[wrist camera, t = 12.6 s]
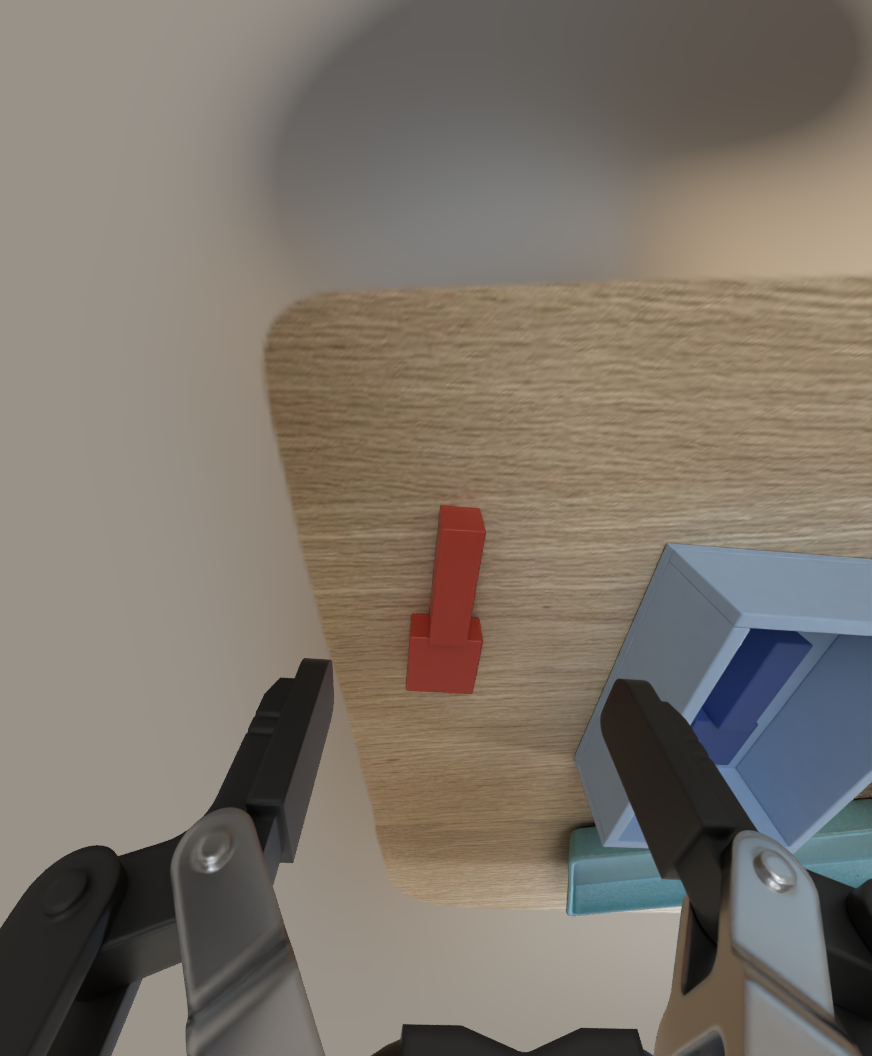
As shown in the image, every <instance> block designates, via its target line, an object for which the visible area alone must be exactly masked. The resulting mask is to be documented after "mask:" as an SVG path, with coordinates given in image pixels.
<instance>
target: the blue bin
mask: <svg viewBox="0 0 872 1056" xmlns="http://www.w3.org/2000/svg"><path fill="white" fill-rule="evenodd" d="M749 628H757V629H772V630H787V631H797V632H798V633H799V634H800V635H802V636H803V637H804V638H805V639H806V640H808V641H809V642H810V643H811V644H812V645H813V647H812V648H811V650H810V651H809V652H808V654H807V655H806V656H805V658H804V659H803V660H802V662H801V663H800V664H799V666H798V667H797V668H796V670H795V671H794V672H793V674H792V675H791V676H790V678H789V679H788V680H787V682H786V683H785V684H784V686H783V687H782V688H781V690H780V691H779V692H778V694H777V695H776V696H775V698H774V699H773V700H772V702H771V703H770V704H769V706H768V707H767V709H766V710H765V711H764V713H763V714H762V715H761V717H760V718H759V719H758V721H757V724H758V726H757V728H756V729H755V730H754V732H753V733H752V734H751V736H750V737H749V738H748V740H747V741H746V742H745V744H744V745H743V746H742V748H741V749H740V750H739V752H738V753H737V754H736V756H735V757H734V758H733V760H732V761H731V762H730V764H729V765H716V767H717V768H718V770H719V771H720V773H721V775H722V776H723V778H724V779H725V781H726V782H727V784H728V785H729V787H730V789H731V790H732V792H733V793H734V795H735V796H736V798H737V799H738V801H739V803H740V804H741V806H742V807H743V809H744V810H745V812H746V813H747V815H748V817H749V818H750V820H751V821H752V823H753V824H754V826H755V827H756V828H757V830H758V831H759V832H760V833H762V834H764V835H767V836H768V837H770V838H772V839H774V840H775V841H777V842H778V843H780V844H781V845H782V846H784V847H785V848H786V849H787V850H788V851H789V852H791V853H795V852H796V851H797V850H798V849H799V848H800V847H801V846H802V845H803V844H804V843H806V842H807V841H808V840H809V839H810V838H811V837H812V836H813V835H814V834H815V833H816V832H818V831H819V830H820V829H821V828H822V827H823V826H824V825H825V824H826V823H827V822H829V821H830V820H831V819H832V818H833V817H834V816H835V815H836V814H837V813H838V812H839V811H841V810H842V809H843V808H844V807H845V806H846V805H847V804H848V803H849V802H850V801H851V800H853V799H854V798H855V797H856V796H857V795H858V794H859V793H860V792H861V791H862V790H863V789H865V788H866V787H867V786H868V785H869V784H870V783H871V782H872V559H865V558H852V557H839V556H826V555H814V554H801V553H788V552H775V551H762V550H749V549H736V548H723V547H710V546H697V545H684V544H672V543H667V545H666V547H665V549H664V552H663V554H662V556H661V559H660V561H659V563H658V566H657V568H656V570H655V572H654V575H653V577H652V579H651V582H650V584H649V586H648V589H647V591H646V593H645V595H644V598H643V600H642V602H641V605H640V607H639V609H638V612H637V614H636V616H635V619H634V621H633V623H632V625H631V628H630V630H629V632H628V635H627V637H626V639H625V642H624V644H623V646H622V648H621V651H620V653H619V655H618V658H617V660H616V662H615V665H614V667H613V669H612V672H611V674H610V676H609V678H608V681H607V683H606V685H605V688H604V690H603V692H602V695H601V697H600V699H599V702H598V704H597V706H596V708H595V711H594V713H593V715H592V718H591V720H590V722H589V725H588V727H587V729H586V731H585V734H584V736H583V738H582V741H581V743H580V745H579V748H578V750H577V752H576V755H575V757H574V760H575V763H576V766H577V769H578V772H579V775H580V778H581V781H582V784H583V788H584V791H585V794H586V797H587V800H588V803H589V806H590V809H591V812H592V815H593V818H594V821H595V824H596V827H597V830H598V834H599V837H600V840H601V843H602V846H603V847H626V848H648V845H647V843H646V840H645V838H644V836H643V833H642V831H641V828H640V826H639V823H638V821H637V819H636V816H635V814H634V811H633V809H632V806H631V804H630V802H629V799H628V797H627V794H626V792H625V789H624V787H623V785H622V782H621V780H620V777H619V775H618V772H617V770H616V768H615V765H614V763H613V760H612V758H611V756H610V753H609V751H608V748H607V746H606V743H605V741H604V739H603V736H602V732H601V727H600V716H601V712H602V710H603V707H604V705H605V703H606V701H607V698H608V696H609V694H610V691H611V689H612V687H613V684H614V682H615V681H616V680H617V679H635V680H646V681H648V682H649V683H650V684H651V685H652V687H653V688H654V690H655V692H656V693H657V695H658V697H659V698H660V700H661V701H665V702H668V703H670V704H671V705H672V706H673V707H674V708H675V709H676V710H677V711H678V712H679V713H680V714H681V715H682V716H683V717H684V718H685V719H686V720H687V722H688V723H689V725H690V724H691V723H692V721H693V720H694V718H695V716H696V715H697V713H698V712H699V710H700V709H701V707H702V705H703V704H704V702H705V701H706V699H707V697H708V696H709V694H710V693H711V691H712V689H713V688H714V686H715V685H716V683H717V681H718V680H719V678H720V677H721V675H722V673H723V672H724V670H725V669H726V667H727V666H728V664H729V662H730V661H731V659H732V658H733V656H734V654H735V653H736V651H737V650H738V648H739V646H740V645H741V643H742V642H743V640H744V638H745V637H746V635H747V634H748V632H749V631H750V629H749Z"/></svg>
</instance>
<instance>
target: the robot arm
mask: <svg viewBox="0 0 872 1056" xmlns="http://www.w3.org/2000/svg"><path fill="white" fill-rule="evenodd" d="M333 704H334V688H333V667H332V660H325V659H310V658H304V659H303V660H302V662H301V664H300V666H299V669H298V671H297V674H296V676H295V678H280V679H279V680H278V681H277V682H276V683H275V684H274V685H273V686H272V687H271V688H270V689H269V690H268V691H267V692H266V693H265V694H264V696H263V699H262V701H261V703H260V705H259V707H258V709H257V711H256V715H255V717H254V718H253V720H252V722H251V724H250V726H249V728H248V733H247V734H246V735H245V737H244V739H243V741H242V743H241V746H240V748H239V750H238V752H237V754H236V756H235V758H234V761H233V763H232V765H231V767H230V769H229V772H228V774H227V776H226V778H225V780H224V782H223V784H222V786H221V789H220V791H219V793H218V795H217V797H216V799H215V801H214V803H213V804H212V806H211V807H210V809H209V810H208V811H207V812H206V814H205V815H204V816H203V817H202V818H201V819H200V820H198V821H197V822H196V823H195V824H194V825H193V826H192V827H191V828H190V829H188V830H187V831H185V832H184V833H182V834H181V835H179V836H177V837H175V838H173V839H171V840H168V841H165V842H163V843H159V844H156V845H153V846H150V847H146V848H143V849H140V850H137V851H134V852H130V853H128V854H124V855H121V856H117V855H116V853H115V852H114V851H113V850H112V849H110V848H109V847H106V846H98V845H96V846H88V847H85V848H81V849H79V850H77V851H74V852H72V853H70V854H68V855H66V856H64V857H63V858H61V859H60V860H58V861H57V862H55V863H54V864H53V865H51V866H50V867H49V868H48V869H46V870H45V871H44V872H43V873H42V874H41V875H40V876H39V877H38V878H37V879H36V880H35V881H34V882H33V883H32V884H31V885H30V886H29V888H28V889H27V891H26V892H25V893H24V894H23V896H22V897H21V899H20V900H19V902H18V903H17V905H16V906H15V907H14V909H13V910H12V912H11V913H10V915H9V916H8V918H7V919H6V921H5V922H4V924H3V925H2V927H1V928H0V1056H111V1055H112V1052H113V1050H114V1047H115V1045H116V1043H117V1040H118V1038H119V1035H120V1033H121V1030H122V1028H123V1025H124V1023H125V1021H126V1018H127V1016H128V1013H129V1010H130V1008H131V1006H132V1003H133V1001H134V998H135V996H136V993H137V991H138V989H139V986H140V984H141V981H142V979H143V978H144V977H147V976H149V975H152V974H154V973H156V972H159V971H161V970H163V969H166V968H168V967H171V966H174V965H176V964H178V963H181V962H182V966H183V974H184V981H185V989H186V997H187V1006H188V1020H187V1023H186V1052H187V1056H325V1053H324V1050H323V1047H322V1043H321V1040H320V1037H319V1034H318V1030H317V1027H316V1024H315V1020H314V1017H313V1014H312V1010H311V1007H310V1004H309V1000H308V998H307V994H306V991H305V987H304V984H303V981H302V978H301V974H300V971H299V968H298V964H297V961H296V958H295V955H294V951H293V948H292V945H291V943H290V940H289V937H288V934H287V931H286V928H285V925H284V922H283V919H282V915H281V912H280V908H279V905H278V902H277V899H276V895H275V892H274V889H273V884H274V880H275V877H276V874H277V870H278V867H279V863H282V862H283V863H293V861H294V858H295V854H296V850H297V846H298V843H299V839H300V835H301V831H302V828H303V824H304V820H305V816H306V812H307V808H308V805H309V801H310V797H311V794H312V790H313V786H314V782H315V778H316V775H317V770H318V767H319V763H320V760H321V756H322V752H323V748H324V744H325V741H326V737H327V733H328V729H329V725H330V722H331V717H332V712H333ZM600 727H601V732H602V736H603V739H604V741H605V743H606V746H607V748H608V751H609V753H610V756H611V758H612V760H613V763H614V765H615V768H616V770H617V772H618V775H619V777H620V780H621V782H622V785H623V787H624V789H625V792H626V794H627V797H628V799H629V802H630V804H631V806H632V809H633V811H634V814H635V816H636V819H637V821H638V823H639V826H640V828H641V831H642V833H643V836H644V838H645V840H646V843H647V845H648V848H649V850H650V853H651V855H652V857H653V860H654V862H655V865H656V867H657V870H658V872H659V874H660V877H661V879H669V880H681V882H682V884H683V886H684V888H685V891H686V894H685V896H684V898H683V901H682V909H681V917H680V925H679V933H678V941H677V949H676V957H675V964H674V973H673V980H672V988H671V994H670V998H669V1002H668V1005H667V1008H666V1010H665V1012H664V1014H663V1017H662V1019H661V1022H660V1026H659V1029H658V1033H657V1037H656V1043H655V1049H654V1055H652V1054H650V1053H649V1052H647V1051H645V1050H643V1047H642V1044H641V1040H640V1037H639V1033H638V1030H637V1029H606V1028H604V1029H603V1028H600V1029H599V1028H580V1029H578V1030H575V1031H573V1032H571V1033H569V1034H567V1035H565V1036H563V1037H560V1038H558V1039H556V1040H554V1041H552V1042H550V1043H548V1044H545V1045H543V1046H541V1047H539V1048H537V1049H535V1050H532V1051H530V1052H520V1051H517V1050H515V1049H513V1048H511V1047H508V1046H506V1045H504V1044H502V1043H499V1042H497V1041H495V1040H493V1039H490V1038H488V1037H486V1036H484V1035H481V1034H479V1033H477V1032H475V1031H473V1030H470V1029H468V1028H466V1027H464V1026H459V1025H409V1024H407V1025H406V1024H403V1026H402V1032H401V1038H400V1040H397V1041H395V1042H393V1043H391V1044H388V1045H386V1046H385V1047H383V1048H382V1049H380V1050H379V1051H378V1052H376V1053H374V1054H373V1055H371V1056H872V879H869V880H867V881H865V882H864V883H863V884H861V885H860V886H859V887H858V888H854V887H851V886H849V885H846V884H844V883H841V882H838V881H836V880H833V879H831V878H828V877H826V876H823V875H820V874H818V873H815V872H813V871H810V870H808V869H806V868H804V867H803V865H802V864H801V863H800V862H799V861H798V860H797V858H796V857H795V856H794V855H793V854H792V853H791V852H789V851H788V850H787V849H786V848H785V847H784V846H782V845H781V844H780V843H778V842H777V841H775V840H774V839H772V838H770V837H768V836H767V835H764V834H762V833H760V832H759V831H758V830H757V828H756V827H755V826H754V824H753V823H752V821H751V820H750V818H749V817H748V815H747V813H746V812H745V810H744V809H743V807H742V806H741V804H740V803H739V801H738V799H737V798H736V796H735V795H734V793H733V792H732V790H731V789H730V787H729V785H728V784H727V782H726V781H725V779H724V778H723V776H722V775H721V773H720V771H719V770H718V768H717V767H716V765H715V764H714V762H713V761H712V759H709V754H708V753H707V751H706V750H705V748H704V747H703V745H702V744H701V743H699V741H698V737H697V736H696V734H695V733H694V731H693V730H692V728H691V726H690V725H689V723H688V722H687V720H686V719H685V718H684V717H683V716H682V715H681V714H680V713H679V712H678V711H677V710H676V709H675V708H674V707H673V706H672V705H671V704H670V703H668V702H665V701H661V700H660V698H659V697H658V695H657V693H656V692H655V690H654V688H653V687H652V685H651V684H650V683H649V682H648V681H646V680H635V679H617V680H616V681H615V682H614V684H613V687H612V689H611V691H610V694H609V696H608V698H607V701H606V703H605V705H604V707H603V710H602V712H601V716H600Z"/></svg>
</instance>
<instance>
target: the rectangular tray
mask: <svg viewBox="0 0 872 1056" xmlns="http://www.w3.org/2000/svg"><path fill="white" fill-rule="evenodd" d="M792 854H793V855H794V856H795V857H796V858H797V860H798V861H799V862H800V863H801V864H802V865H803V867H804V868H806V869H808V870H810V871H813V872H815V873H818V874H820V875H823V876H826V877H828V878H831V879H833V880H836V881H838V882H841V883H844V884H846V885H849V886H851V887H854V888H858V887H859V886H860V885H861V884H863V883H864V882H865V881H867V880H869V879H872V799H862V800H851V801H850V802H849V803H848V804H847V805H846V806H845V807H844V808H843V809H842V810H841V811H839V812H838V813H837V814H836V815H835V816H834V817H833V818H832V819H831V820H830V821H829V822H827V823H826V824H825V825H824V826H823V827H822V828H821V829H820V830H819V831H818V832H816V833H815V834H814V835H813V836H812V837H811V838H810V839H809V840H808V841H807V842H806V843H804V844H803V845H802V846H801V847H800V848H799V849H798V850H797V851H796V852H795V853H792ZM685 894H686V891H685V888H684V886H683V884H682V882H681V880H669V879H661V877H660V874H659V872H658V870H657V867H656V865H655V862H654V860H653V857H652V855H651V853H650V850H649V848H626V847H603V846H602V843H601V840H600V837H599V834H598V830H597V827H587V828H579V829H575V830H573V831H572V833H571V838H570V846H569V860H568V891H567V906H566V913H567V915H569V916H581V915H590V914H601V913H611V912H622V911H634V910H645V909H656V908H667V907H677V906H682V901H683V898H684V896H685Z"/></svg>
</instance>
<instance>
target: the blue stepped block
mask: <svg viewBox="0 0 872 1056" xmlns="http://www.w3.org/2000/svg"><path fill="white" fill-rule="evenodd" d="M749 629H750V631H749V632H748V634H747V635H746V637H745V638H744V640H743V642H742V643H741V645H740V646H739V648H738V650H737V651H736V653H735V654H734V656H733V658H732V659H731V661H730V662H729V664H728V666H727V667H726V669H725V670H724V672H723V673H722V675H721V677H720V678H719V680H718V681H717V683H716V685H715V686H714V688H713V689H712V691H711V693H710V694H709V696H708V697H707V699H706V701H705V702H704V704H703V705H702V707H701V709H700V710H699V712H698V713H697V715H696V716H695V718H694V720H693V721H692V723H691V724H690V726H691V728H692V730H693V731H694V733H695V734H696V736H697V737H698V741H699V743H701V744H702V745H703V747H704V748H705V750H706V751H707V753H708V754H709V759H712V761H713V762H714V764H715V765H729V764H730V762H731V761H732V760H733V758H734V757H735V756H736V754H737V753H738V752H739V750H740V749H741V748H742V746H743V745H744V744H745V742H746V741H747V740H748V738H749V737H750V736H751V734H752V733H753V732H754V730H755V729H756V728H757V726H758V724H757V721H758V719H759V718H760V717H761V715H762V714H763V713H764V711H765V710H766V709H767V707H768V706H769V704H770V703H771V702H772V700H773V699H774V698H775V696H776V695H777V694H778V692H779V691H780V690H781V688H782V687H783V686H784V684H785V683H786V682H787V680H788V679H789V678H790V676H791V675H792V674H793V672H794V671H795V670H796V668H797V667H798V666H799V664H800V663H801V662H802V660H803V659H804V658H805V656H806V655H807V654H808V652H809V651H810V650H811V648H812V647H813V645H812V644H811V643H810V642H809V641H808V640H806V639H805V638H804V637H803V636H802V635H800V634H799V633H798V632H797V631H787V630H772V629H757V628H749Z"/></svg>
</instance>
